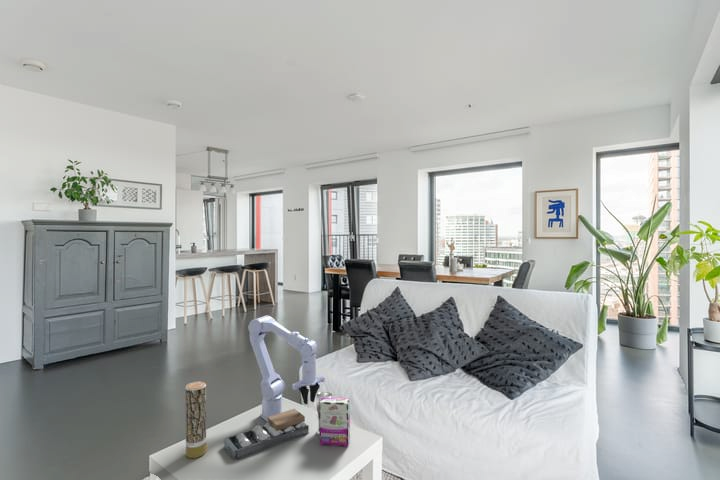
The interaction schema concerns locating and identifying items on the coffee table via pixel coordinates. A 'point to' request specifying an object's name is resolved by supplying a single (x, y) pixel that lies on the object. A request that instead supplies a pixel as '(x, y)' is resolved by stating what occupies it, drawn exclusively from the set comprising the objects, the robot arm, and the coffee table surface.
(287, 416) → the slab
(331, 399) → the candy bar box
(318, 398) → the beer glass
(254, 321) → the robot arm
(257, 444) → the roller bed
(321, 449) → the coffee table surface
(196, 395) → the paper tube
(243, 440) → the roller
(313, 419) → the coffee table surface
